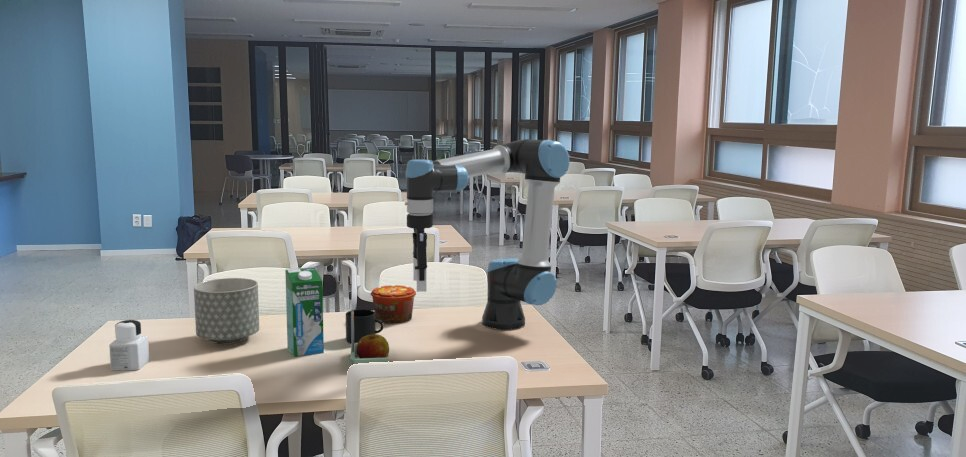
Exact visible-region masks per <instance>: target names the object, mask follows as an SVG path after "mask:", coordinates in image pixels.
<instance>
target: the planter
mask: <svg viewBox="0 0 966 457" xmlns="http://www.w3.org/2000/svg"><path fill="white" fill-rule="evenodd" d="M258 286H259V283H258V282H257V281H256V280H255V279H252V278H251V279H250V278H245V277H244V278H243V277H242V278H241V277H227V278H226V277H225V278H217V279H216V278H214V279H210V280H204V281H201V282H199V283H196V284H195V285H194V286H193V296H194V316H195V318H194V320H195V335H196V336H197V338H200V339H202V340H207V341H209V342H212V343H214V344H221V345H229V344H235V343H239V342H241V341H243V340H245V339H247V338H249V337H250V336H253V335H255V334H256V333H258V332H259V331H260V310H259V309H260V308H259V307H260V305H259V303H260V302H259V287H258Z"/></svg>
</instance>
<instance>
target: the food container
mask: <svg viewBox="0 0 966 457" xmlns="http://www.w3.org/2000/svg"><path fill="white" fill-rule="evenodd" d="M416 295H417V290H415V289H414V288H413V287H411V286H409V287H407V286H406V285H399V284H397V285H396V284H395V285H390V284H389V285H383V286H380V287H375V288H373V289H372V291H371V292H370V296H371V297H372V304H373V311H374V312H375V317H376V319H378V320H380V321H382V323H383V324H386V325H398V324H404V323H408V322H409V321H411V320H412V318H413V311H414V301H415V297H416Z"/></svg>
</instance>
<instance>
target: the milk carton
mask: <svg viewBox="0 0 966 457" xmlns="http://www.w3.org/2000/svg"><path fill="white" fill-rule="evenodd" d="M284 271H285V298H286V300H285V302H286V303H285V304H286V305H285V306H286V335H287V336H286V338H287V339H286V340H287V342H286V343H287V349H288V350H289V352H290V354H292V356H293V357H301V356H309V355H315V354H322V353H324V352H325V351H324V349H325V348H324V346H325V343H324V342H325V341H324V303H323V302H324V300H323V299H324V296H323V295H324V294H323V293H324V292H323V288H324V287H323V279H322V277H321V276H320V274H319V272H318V270H317V269H316V267H314V266H313V267H302V268H301V267H300V268H290V269H289V268H288V269H285V270H284Z"/></svg>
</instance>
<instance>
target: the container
mask: <svg viewBox="0 0 966 457" xmlns="http://www.w3.org/2000/svg"><path fill="white" fill-rule="evenodd" d="M114 332H115V339H114V341H112V342H111V343H110V344H109V360H110V369H111V371H139V370H141V368H143V367H144V366H145V365H146V364H147V363H149V361H150V354H149V353H150V350H149V337H148V336H147V335H142V325H141V321H139V320H135V319H125V320H122V321H119V322H117V323H116V324H115V325H114Z"/></svg>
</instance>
